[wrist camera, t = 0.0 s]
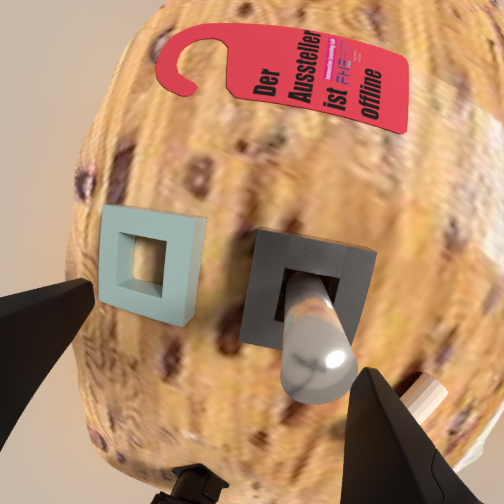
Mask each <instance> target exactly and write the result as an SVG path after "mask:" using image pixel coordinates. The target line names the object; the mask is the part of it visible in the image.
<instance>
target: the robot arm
mask: <svg viewBox="0 0 504 504" xmlns="http://www.w3.org/2000/svg"><path fill="white" fill-rule="evenodd" d="M94 305H95V298H94V290H93V284H92V282H91V281H89V280H86V279H84V278H79V279H75V280H71V281H66V282H62V283H58V284H54V285H49V286H45V287H41V288H37V289H33V290H29V291H25V292H20V293H17V294H13V295H8V296H4V297H0V451H1V450H2V448H3V446H4V444H5V442H6V440H7V439H8V437H9V435H10V433H11V431H12V430H13V428H14V426H15V425H16V423H17V421H18V419H19V417H20V416H21V414H22V412H23V411H24V409H25V408H26V406H27V404H28V403H29V401H30V400H31V398H32V397H33V395H34V394H35V392H36V390H37V389H38V388H39V386H40V385H41V383H42V382H43V381H44V379H45V378H46V376H47V375H48V373H49V372H50V370H51V369H52V368H53V366H54V365H55V363H56V362H57V361H58V359H59V358H60V357H61V355H62V354H63V353H64V351H65V350H66V349H67V347H68V346H69V345H70V343H71V342H72V340H73V339H74V338H75V336H76V334H77V333H78V331H79V330H80V328H81V326H82V325H83V323H84V322H85V320H86V319H87V317H88V315H89V314H90V312H91V311H92V309H93V308H94ZM172 472H173V473H174V474H175V475H177V476H178V479H177V481H176V483H175V486H174V488H173V490H172V492H171V494H170V495H168V494H166V493H165V492H162V491H161V492H160V493H159V494H156V495H155V497H154V499H153V500H152V502H151V503H150V504H216V502H218V500H219V496H220V493H221V490H222V489H223V488H229V484H228V483H227V482H225V481H224V480H222V479H221V478H220V477H218V476H217V475H216V474H214V473H213V472H212V471H210V470H209V469H208V468H206V467H205V466H204V465H202V464H198V465H193V466H188V467H181V468H175V469H173V470H172ZM340 504H484V503H482V502H481V501H479V500H478V499H477V498H476V496H475V495H474V494H473V493H472V492H471V491H470V490H469V488H468V487H467V486H466V485H465V484H464V483H463V482H462V480H461V479H460V478H459V477H458V476H457V475H456V473H455V472H454V471H453V470H452V468H451V467H450V466H449V464H448V463H447V462H446V460H445V459H444V458H443V456H442V455H441V454H440V452H439V451H438V449H435V445H434V444H433V443H432V441H431V440H430V439H429V437H428V436H427V434H426V433H425V432H424V430H423V429H422V428H421V426H420V425H419V424H418V422H417V421H416V419H415V418H414V417H413V415H412V414H411V413H410V411H409V410H408V409H407V407H406V406H405V405H404V403H403V402H402V401H401V399H400V398H399V397H398V396H397V394H396V393H395V392H394V390H393V389H392V388H391V386H390V385H389V384H388V382H387V381H386V380H385V379H384V377H383V376H382V375H381V373H380V372H379V371H378V370H377V369H375V368H370V367H365V368H363V369H362V370H361V372H360V373H359V375H358V376H357V378H356V379H355V381H354V382H353V384H352V386H351V389H350V397H349V406H348V414H347V421H346V429H345V446H344V465H343V478H342V490H341V499H340Z"/></svg>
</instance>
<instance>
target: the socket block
mask: <svg viewBox="0 0 504 504" xmlns="http://www.w3.org/2000/svg"><path fill="white" fill-rule="evenodd" d="M376 255H377V252H376V251H373V250H371V249H369V248H367V247H363V246H359V245H354V244H349V243H344V242H339V241H334V240H329V239H324V238H319V237H313V236H308V235H303V234H298V233H292V232H287V231H282V230H276V229H271V228H265V227H261V228H259V229H258V230H257V236H256V242H255V247H254V253H253V259H252V265H251V271H250V277H249V283H248V288H247V294H246V300H245V306H244V312H243V318H242V324H241V329H240V335H239V342H244V343H249V344H254V345H259V346H264V347H269V348H274V349H280V350H282V348H283V333H284V316H285V309H281V308H277V303H278V298H279V294H280V289H281V284H282V279H283V274H284V269H285V268H288V269H293V270H299V271H304V272H310V273H315V274H320V275H326V276H331V277H332V280H331V284H330V289H329V293H328V296H329V298H330V300H331V303H332V305H333V307H334V309H335V312H336V314H337V316H338V318H339V321H340V323H341V325H342V328H343V330H344V332H345V335H346V337H347V339H348V342H349V344H350V346H351V345H352V342H353V339H354V336H355V333H356V330H357V327H358V323H359V320H360V317H361V314H362V310H363V307H364V303H365V300H366V296H367V292H368V288H369V285H370V281H371V277H372V272H373V268H374V264H375V260H376Z"/></svg>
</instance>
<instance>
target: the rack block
mask: <svg viewBox="0 0 504 504" xmlns="http://www.w3.org/2000/svg"><path fill="white" fill-rule="evenodd" d="M206 222H207V218H206V217H200V216H194V215H188V214H181V213H175V212H168V211H162V210H155V209H148V208H141V207H134V206H127V205H103V211H102V221H101V233H100V249H99V301H101V302H103V303H106V304H109V305H112V306H115V307H118V308H121V309H124V310H127V311H130V312H133V313H136V314H139V315H142V316H145V317H148V318H152V319H155V320H158V321H161V322H165V323H168V324H172V325H175V326H179V327H184V326H185V325H186V324H187V323H188V322H189V321H190V320H191V319H192V317H193V316H194V315H195V308H196V299H197V290H198V281H199V273H200V265H201V257H202V250H203V243H204V236H205V229H206ZM136 235H138V236H143V237H148V238H153V239H158V240H163V241H167V247H166V256H165V266H164V278H163V286H162V285H158V284H154V283H150V282H147V281H143V280H139V279H135V278H133V263H134V249H135V238H136Z"/></svg>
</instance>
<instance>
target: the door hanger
mask: <svg viewBox="0 0 504 504" xmlns="http://www.w3.org/2000/svg"><path fill="white" fill-rule="evenodd" d="M202 39H217V40H221V41H223V42H224V43H225V44H226V45H227V46H228V47H229V49H228V64H227V88H228V89H229V91H230V92H231V93H232V94H233V95H234V97H236V98H240V99H247V100H255V101H263V102H270V103H277V104H283V105H289V106H295V107H300V108H306V109H311V110H315V111H320V112H324V113H329V114H333V115H337V116H341V117H345V118H349V119H353V120H356V121H360V122H363V123H367V124H370V125H373V126H377V127H380V128H383V129H386V130H389V131H392V132H395V133H398V134H404V133H405V132H407V124H408V104H409V65H408V62H407V60H406V59H405V58H404V57H403V56H402V55H399V54H396V53H394V52H391V51H388V50H385V49H382V48H379V47H376V46H373V45H370V44H366V43H363V42H359V41H356V40H352V39H348V38H344V37H340V36H336V35H331V34H327V33H322V32H316V31H311V30H305V29H298V28H291V27H283V26H274V25H262V24H243V23H209V24H201V25H196V26H193V27H190V28H188V29H185V30H183V31H181V32H179V33H177V34H175V35H174V36H173V37H172V38H171V39H170V40H169V41H168V42H167V43H166V45H165V46H164V47H163V48H162V50H161V52H160V54H159V56H158V59H157V64H156V75H157V78H158V80H159V82H160V83H161V84H162V85H163V86H164V87H165V88H166V89H167V90H170V91H172V92H174V93H176V94H178V95H180V96H190V95H193V93H194V92H195V91H196V89H197V88H198V87H197V86H196V85H195V83H194V82H192V81H189V80H187V79H186V78H185V77H183V76H182V75H180V74H179V73H178V69H177V65H176V64H177V61H178V58H179V55H180V53H181V51H182V50H183V49H184V48H185V47H187V46H188V45H190V44H192V43H193V42H196V41H199V40H202Z"/></svg>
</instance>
